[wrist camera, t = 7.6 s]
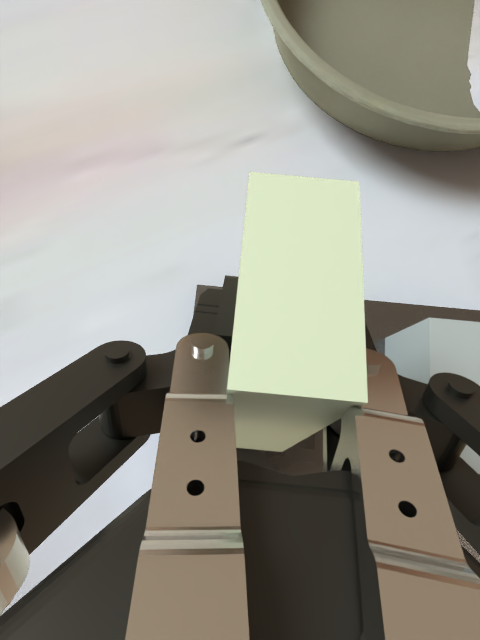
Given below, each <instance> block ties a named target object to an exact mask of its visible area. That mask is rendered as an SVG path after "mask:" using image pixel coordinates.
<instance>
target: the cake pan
mask: <svg viewBox="0 0 480 640" xmlns="http://www.w3.org/2000/svg"><path fill="white" fill-rule="evenodd" d="M261 3H262V6H263V8H264V10H265V12H266V14H267V16H268V18H269V20H270V22H271V24H272V26H273V29H274V34H275V39H276V43H277V46H278V49H279V52H280V54H281V57H282V59H283V61H284V63H285V65H286V67H287V69H288V71H289V72H290V74H291V76H292V77H293V79H294V80H295V81H296V83H297V84H298V86H299V87H300V88H301V89H302V90H303V92H304V93H305V94H306V95H307V96H308V97H309V98H310V99H311V100H312V101H313V102H314V103H315V104H316V105H318V106H319V107H320V108H321V109H322V110H324V111H325V112H326V113H327V114H329V115H330V116H332V117H333V118H334V119H336V120H337V121H339V122H340V123H342V124H344V125H346V126H347V127H349V128H351V129H353V130H355V131H357V132H359V133H361V134H363V135H365V136H368V137H370V138H373V139H376V140H378V141H382V142H385V143H388V144H392V145H396V146H400V147H405V148H410V149H417V150H426V151H459V150H467V149H473V148H478V147H480V112H479V111H478V109H477V108H476V107H475V106H474V104H473V101H472V97H471V93H470V88H471V85H470V83H469V79H470V76H471V74H470V71H469V69H468V66H467V61H468V50H469V42H470V33H471V25H472V17H473V8H474V0H261Z"/></svg>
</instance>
